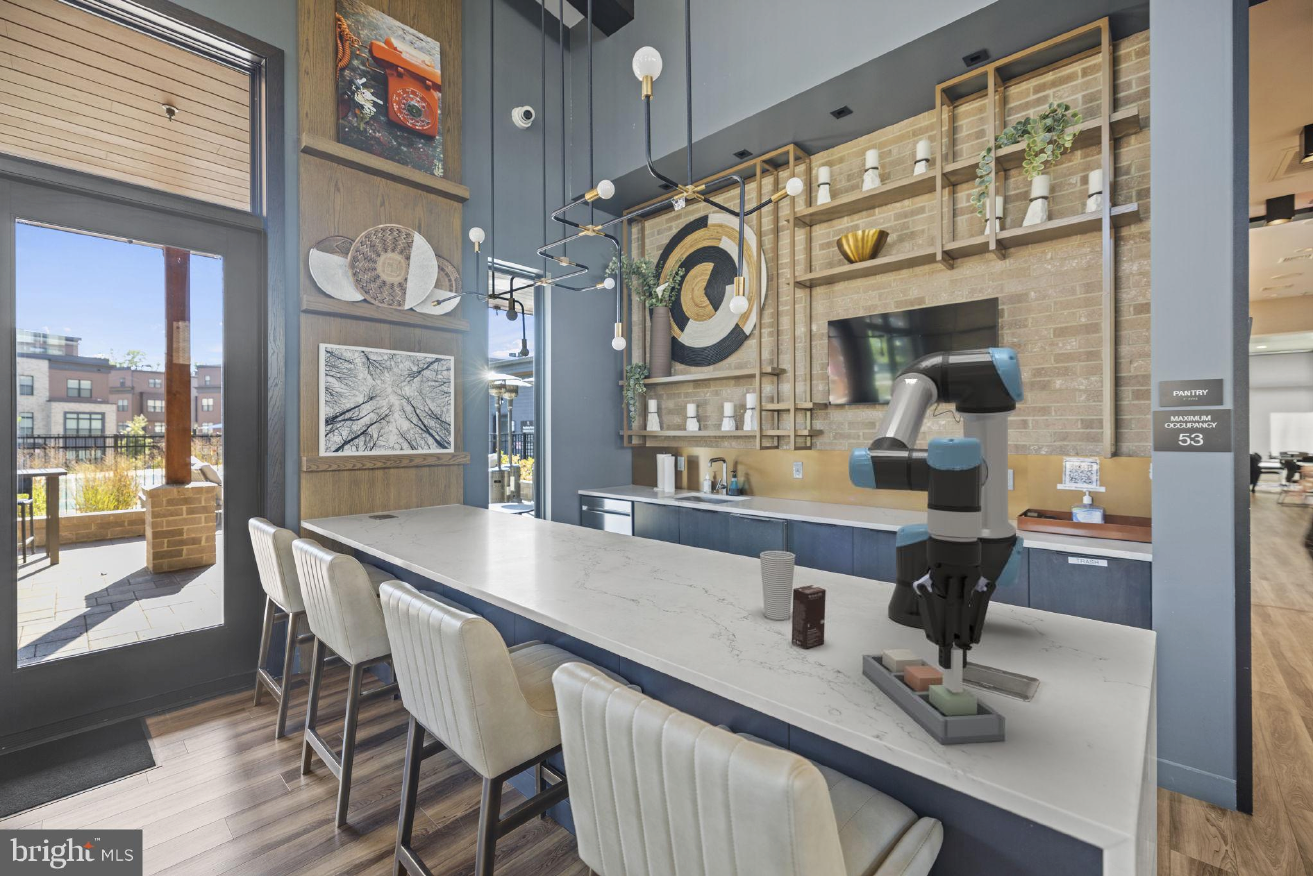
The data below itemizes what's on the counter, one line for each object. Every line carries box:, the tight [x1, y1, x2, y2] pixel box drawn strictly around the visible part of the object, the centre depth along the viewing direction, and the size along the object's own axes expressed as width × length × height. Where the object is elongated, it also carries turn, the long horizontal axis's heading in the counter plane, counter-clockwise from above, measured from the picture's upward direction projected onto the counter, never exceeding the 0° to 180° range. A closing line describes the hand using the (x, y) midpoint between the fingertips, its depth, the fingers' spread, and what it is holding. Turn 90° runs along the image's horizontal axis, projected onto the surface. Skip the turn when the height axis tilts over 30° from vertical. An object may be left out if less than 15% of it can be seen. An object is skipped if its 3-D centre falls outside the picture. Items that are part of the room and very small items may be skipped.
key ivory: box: [882, 648, 923, 673], centre depth 105 cm, size 5×5×2 cm
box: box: [791, 584, 827, 649], centre depth 124 cm, size 6×4×12 cm
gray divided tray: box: [862, 653, 1006, 745], centre depth 97 cm, size 10×25×4 cm, turn 6°
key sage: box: [929, 685, 978, 716], centre depth 90 cm, size 5×5×2 cm
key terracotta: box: [904, 664, 943, 692], centre depth 97 cm, size 5×5×2 cm
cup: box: [759, 550, 796, 621], centre depth 143 cm, size 8×8×16 cm
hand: (952, 688), depth 90 cm, fingers closed
